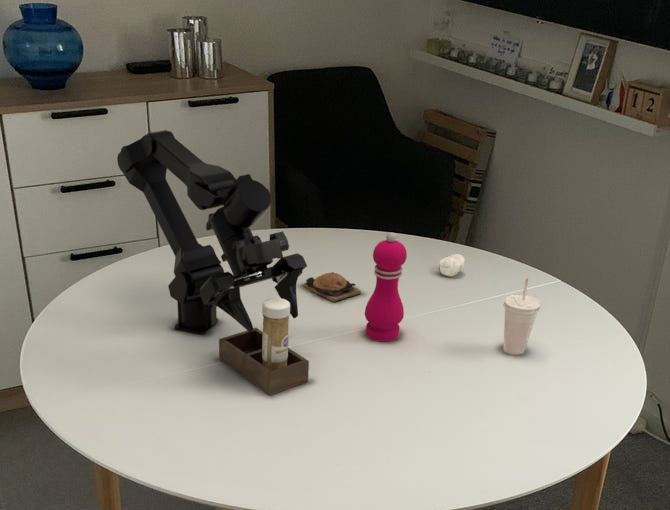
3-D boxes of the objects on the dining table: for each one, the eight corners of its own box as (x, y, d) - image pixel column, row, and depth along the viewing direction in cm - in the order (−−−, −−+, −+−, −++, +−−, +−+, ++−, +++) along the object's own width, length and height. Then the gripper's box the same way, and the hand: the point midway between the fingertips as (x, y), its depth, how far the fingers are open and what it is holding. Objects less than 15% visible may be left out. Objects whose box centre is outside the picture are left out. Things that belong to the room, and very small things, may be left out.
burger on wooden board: (363, 294, 183) (365, 278, 181) (331, 303, 179) (333, 287, 177) (331, 277, 190) (332, 261, 188) (299, 285, 186) (300, 269, 184)
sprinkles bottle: (283, 382, 149) (285, 310, 142) (257, 378, 151) (258, 306, 143) (290, 370, 153) (293, 298, 146) (265, 366, 154) (267, 295, 147)
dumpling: (468, 278, 191) (468, 263, 188) (445, 284, 191) (445, 268, 188) (456, 261, 196) (457, 245, 193) (434, 266, 196) (434, 251, 193)
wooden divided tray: (219, 359, 158) (218, 339, 156) (256, 347, 162) (256, 327, 160) (270, 395, 147) (270, 374, 145) (308, 381, 151) (309, 360, 149)
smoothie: (534, 346, 163) (548, 275, 156) (528, 361, 158) (542, 288, 151) (499, 339, 166) (512, 269, 158) (492, 353, 161) (504, 282, 153)
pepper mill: (400, 344, 163) (411, 241, 153) (361, 340, 165) (369, 238, 154) (402, 327, 169) (413, 227, 159) (364, 324, 171) (373, 224, 160)
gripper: (207, 228, 137) (248, 319, 136) (302, 207, 146) (341, 291, 145) (183, 260, 147) (220, 345, 145) (273, 238, 156) (309, 317, 154)
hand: (274, 323), depth 147 cm, fingers open, 9 cm apart
